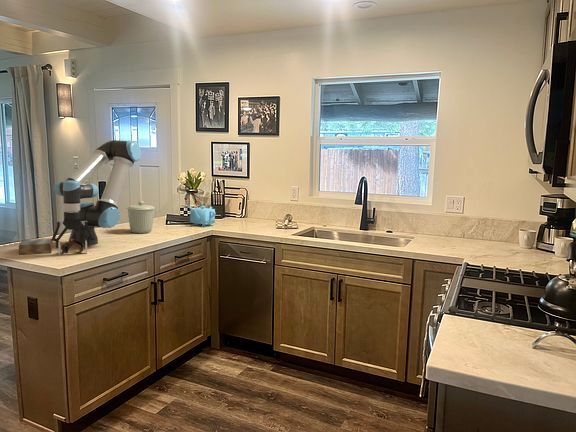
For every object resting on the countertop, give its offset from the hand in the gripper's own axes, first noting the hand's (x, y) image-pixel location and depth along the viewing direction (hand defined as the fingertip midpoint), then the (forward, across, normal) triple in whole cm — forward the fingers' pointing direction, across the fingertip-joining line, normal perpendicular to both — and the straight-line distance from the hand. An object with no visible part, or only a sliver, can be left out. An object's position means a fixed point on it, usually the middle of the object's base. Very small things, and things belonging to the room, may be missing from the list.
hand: (73, 253), depth 216 cm
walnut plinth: (0, +17, -11) cm, 20 cm away
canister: (0, -40, -54) cm, 67 cm away
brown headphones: (0, +1, -2) cm, 2 cm away
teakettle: (0, -86, -74) cm, 113 cm away
